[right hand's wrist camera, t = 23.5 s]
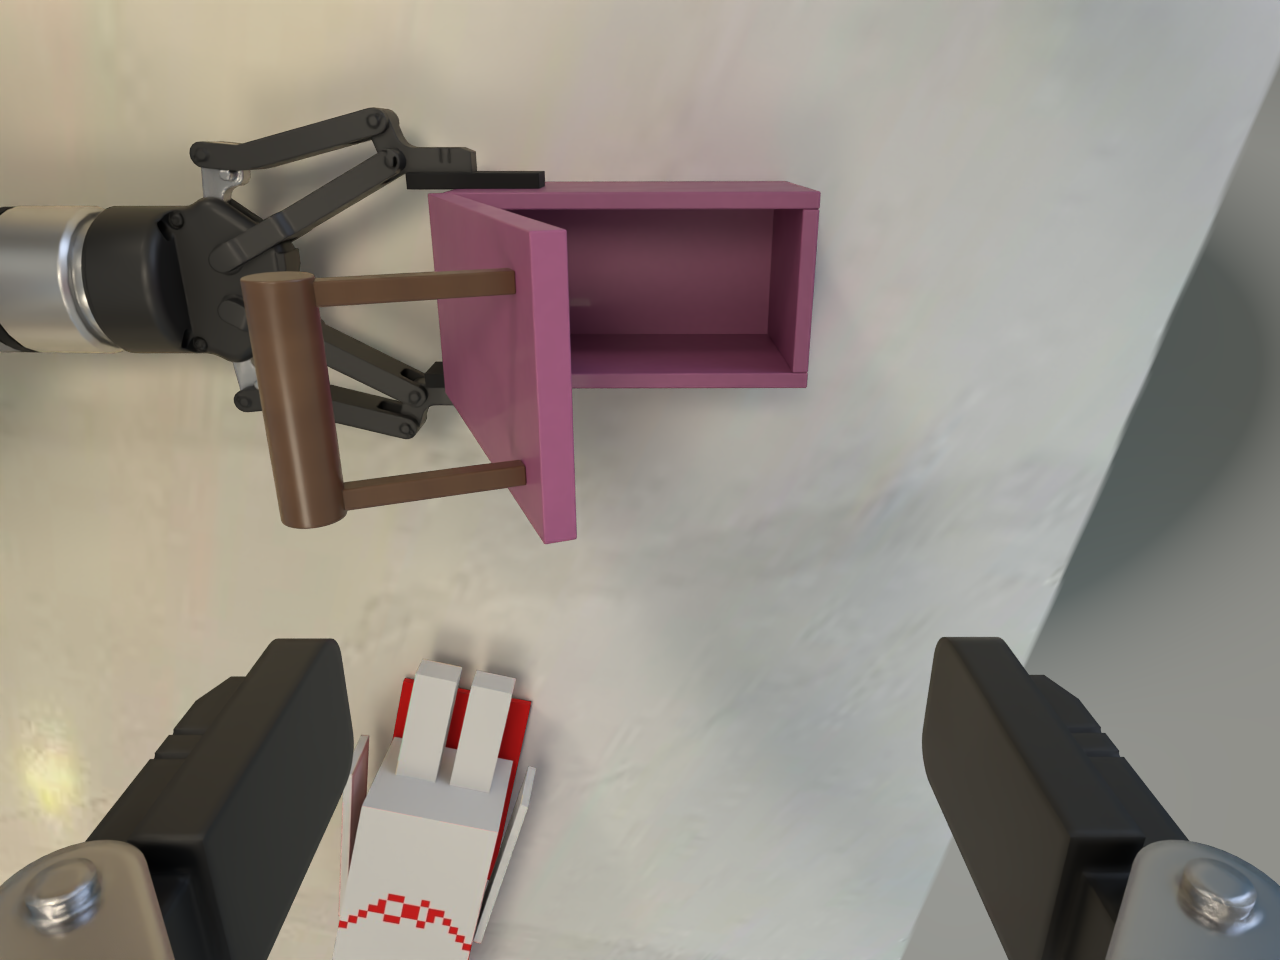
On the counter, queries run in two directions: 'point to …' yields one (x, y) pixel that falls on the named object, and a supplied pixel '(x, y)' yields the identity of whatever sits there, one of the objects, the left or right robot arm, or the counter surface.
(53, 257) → the left robot arm
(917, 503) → the counter surface
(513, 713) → the toy
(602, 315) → the chest
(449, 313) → the lid
